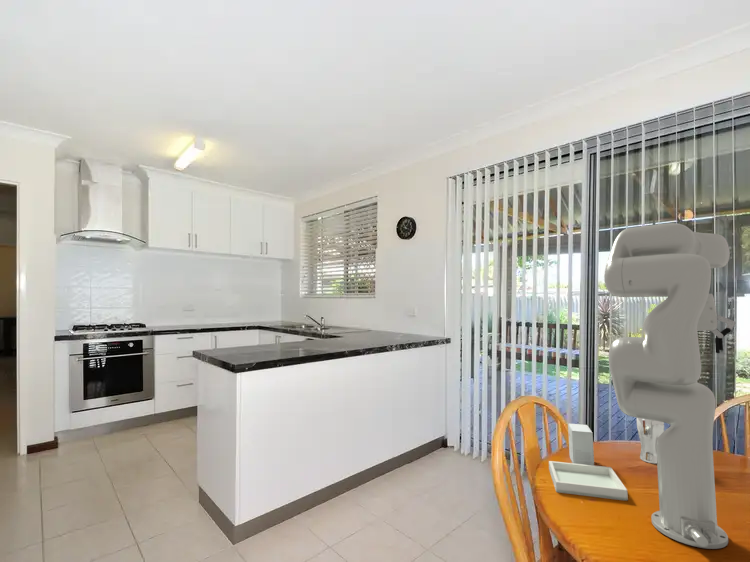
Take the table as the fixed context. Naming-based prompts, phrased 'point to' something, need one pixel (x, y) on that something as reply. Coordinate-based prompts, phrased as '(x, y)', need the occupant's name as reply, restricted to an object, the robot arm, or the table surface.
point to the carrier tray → (587, 480)
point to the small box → (581, 444)
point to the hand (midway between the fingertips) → (694, 351)
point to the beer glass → (649, 438)
